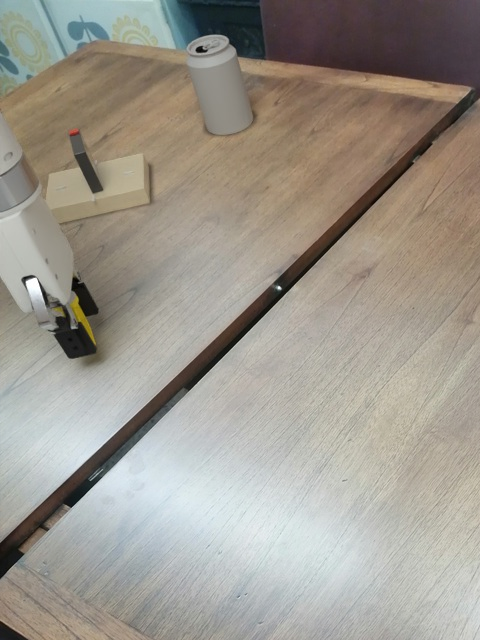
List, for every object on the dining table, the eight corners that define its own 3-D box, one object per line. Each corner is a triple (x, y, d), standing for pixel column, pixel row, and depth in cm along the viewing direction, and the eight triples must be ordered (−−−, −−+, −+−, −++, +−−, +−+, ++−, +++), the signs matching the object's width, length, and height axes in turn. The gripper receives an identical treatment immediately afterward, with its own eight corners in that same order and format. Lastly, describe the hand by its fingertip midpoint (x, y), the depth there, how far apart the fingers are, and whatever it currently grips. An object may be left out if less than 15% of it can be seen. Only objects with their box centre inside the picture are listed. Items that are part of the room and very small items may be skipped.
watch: (72, 329, 81) (46, 287, 76) (95, 320, 81) (70, 278, 76) (81, 360, 77) (54, 317, 72) (105, 351, 78) (80, 308, 73)
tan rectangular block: (54, 232, 97) (42, 211, 94) (59, 191, 104) (48, 170, 101) (152, 210, 97) (143, 189, 95) (151, 170, 104) (142, 149, 101)
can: (204, 124, 110) (177, 40, 100) (248, 111, 111) (226, 26, 101) (213, 145, 106) (186, 59, 96) (260, 131, 107) (238, 44, 97)
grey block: (103, 190, 96) (84, 149, 91) (92, 193, 96) (72, 153, 91) (97, 167, 100) (78, 126, 95) (86, 170, 100) (67, 130, 95)
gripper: (-34, 147, 69) (57, 295, 83) (-62, 245, 59) (46, 394, 73) (41, 130, 69) (118, 281, 84) (25, 225, 59) (116, 378, 74)
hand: (84, 333), depth 78 cm, fingers closed on watch, 6 cm apart
